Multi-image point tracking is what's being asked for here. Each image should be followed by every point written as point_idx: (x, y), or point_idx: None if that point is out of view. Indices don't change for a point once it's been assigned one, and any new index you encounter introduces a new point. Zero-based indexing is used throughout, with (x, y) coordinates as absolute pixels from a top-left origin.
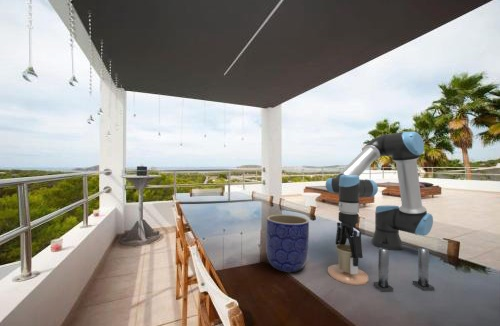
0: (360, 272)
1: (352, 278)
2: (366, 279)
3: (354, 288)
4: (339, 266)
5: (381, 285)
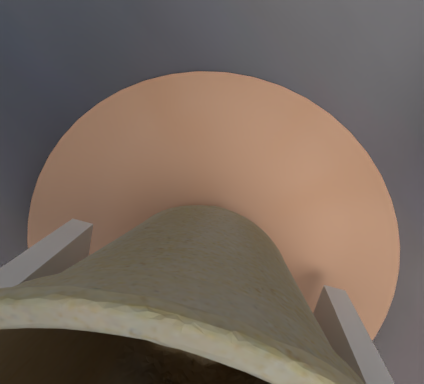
0: (240, 128)
1: (312, 310)
2: (381, 198)
3: (399, 366)
4: (160, 364)
5: None
